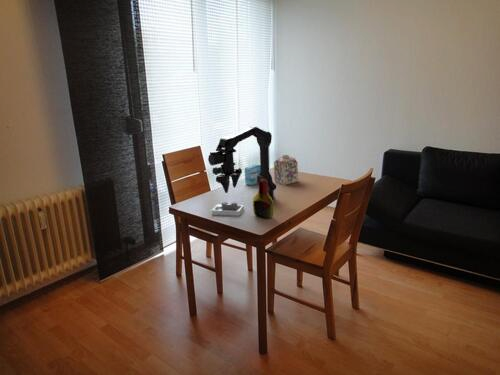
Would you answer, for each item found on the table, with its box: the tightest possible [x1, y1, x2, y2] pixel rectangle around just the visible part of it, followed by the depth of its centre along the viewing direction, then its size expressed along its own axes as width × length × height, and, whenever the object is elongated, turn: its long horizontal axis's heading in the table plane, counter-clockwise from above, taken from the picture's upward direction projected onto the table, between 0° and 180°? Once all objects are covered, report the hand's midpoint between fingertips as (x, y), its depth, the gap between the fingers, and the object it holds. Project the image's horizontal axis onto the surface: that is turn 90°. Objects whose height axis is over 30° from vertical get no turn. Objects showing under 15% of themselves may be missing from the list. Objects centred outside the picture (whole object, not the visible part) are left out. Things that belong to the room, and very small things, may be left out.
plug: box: [217, 201, 238, 211], centre depth 191 cm, size 11×4×4 cm, turn 76°
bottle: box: [252, 179, 275, 219], centre depth 180 cm, size 12×6×20 cm, turn 50°
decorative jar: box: [273, 154, 299, 186], centre depth 237 cm, size 12×12×18 cm
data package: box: [244, 163, 261, 186], centre depth 239 cm, size 12×4×12 cm, turn 134°
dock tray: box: [211, 203, 245, 217], centre depth 192 cm, size 15×9×2 cm, turn 76°
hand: (230, 190), depth 190 cm, fingers open, 9 cm apart
